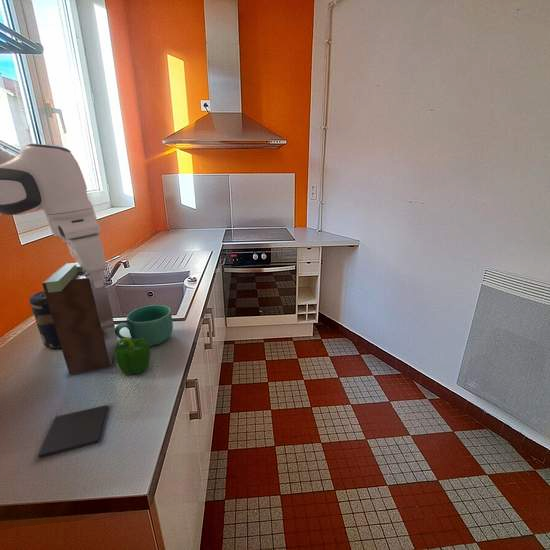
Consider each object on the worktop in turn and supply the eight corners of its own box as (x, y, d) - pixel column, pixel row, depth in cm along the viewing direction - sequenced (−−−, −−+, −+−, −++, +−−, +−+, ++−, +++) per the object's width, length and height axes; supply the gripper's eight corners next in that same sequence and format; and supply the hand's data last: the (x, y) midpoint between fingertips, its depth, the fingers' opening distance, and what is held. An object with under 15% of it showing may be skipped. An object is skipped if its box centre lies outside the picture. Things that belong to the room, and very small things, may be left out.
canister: (86, 336, 99) (73, 285, 94) (61, 352, 91) (45, 297, 85) (63, 333, 102) (48, 283, 96) (36, 348, 93) (18, 294, 87)
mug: (167, 326, 104) (163, 301, 101) (180, 341, 95) (176, 313, 92) (115, 342, 95) (108, 315, 92) (123, 361, 85) (116, 331, 82)
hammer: (67, 290, 67) (65, 280, 66) (41, 293, 65) (38, 283, 65) (88, 266, 84) (86, 258, 83) (67, 269, 82) (65, 260, 82)
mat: (38, 457, 57) (37, 455, 56) (56, 418, 66) (55, 416, 65) (98, 442, 59) (97, 439, 59) (107, 407, 68) (106, 404, 68)
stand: (69, 374, 80) (41, 283, 72) (82, 347, 93) (60, 267, 84) (110, 366, 83) (89, 277, 75) (118, 341, 96) (100, 263, 87)
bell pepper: (156, 358, 86) (150, 327, 83) (148, 376, 78) (142, 343, 75) (125, 361, 85) (118, 330, 82) (114, 380, 77) (106, 346, 74)
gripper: (51, 222, 71) (71, 276, 76) (64, 232, 57) (88, 298, 62) (81, 217, 75) (98, 268, 80) (101, 225, 60) (120, 287, 65)
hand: (94, 281), depth 71 cm, fingers open, 8 cm apart
